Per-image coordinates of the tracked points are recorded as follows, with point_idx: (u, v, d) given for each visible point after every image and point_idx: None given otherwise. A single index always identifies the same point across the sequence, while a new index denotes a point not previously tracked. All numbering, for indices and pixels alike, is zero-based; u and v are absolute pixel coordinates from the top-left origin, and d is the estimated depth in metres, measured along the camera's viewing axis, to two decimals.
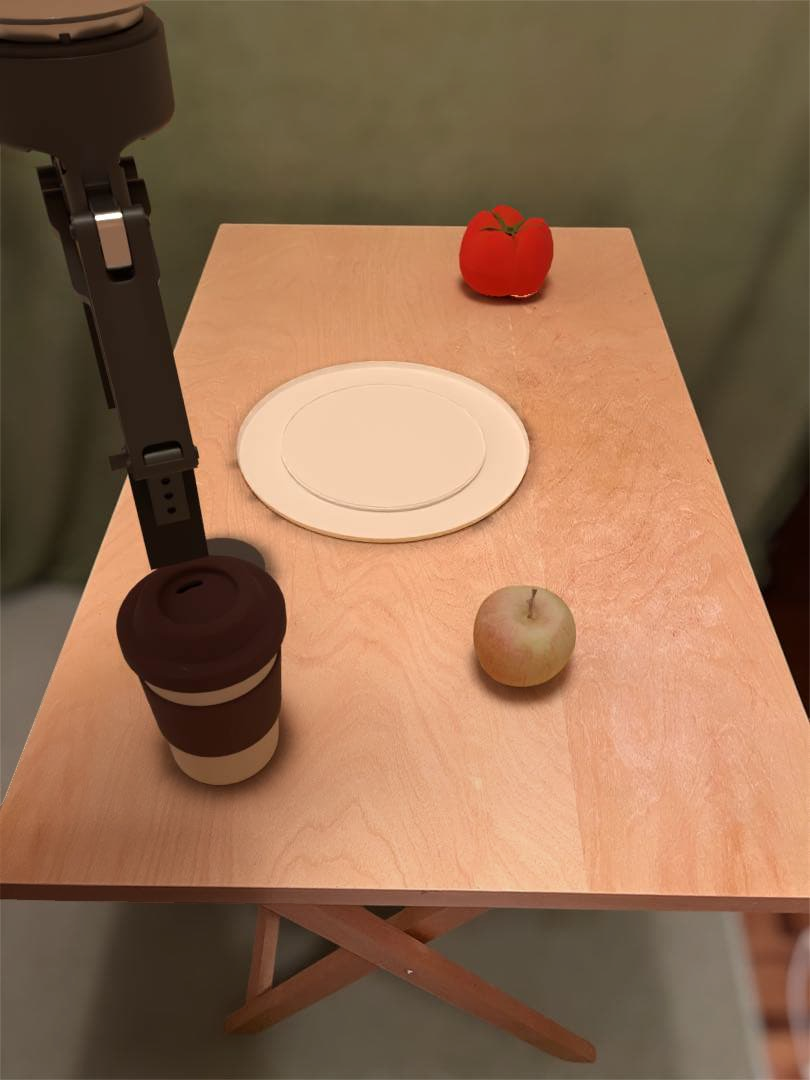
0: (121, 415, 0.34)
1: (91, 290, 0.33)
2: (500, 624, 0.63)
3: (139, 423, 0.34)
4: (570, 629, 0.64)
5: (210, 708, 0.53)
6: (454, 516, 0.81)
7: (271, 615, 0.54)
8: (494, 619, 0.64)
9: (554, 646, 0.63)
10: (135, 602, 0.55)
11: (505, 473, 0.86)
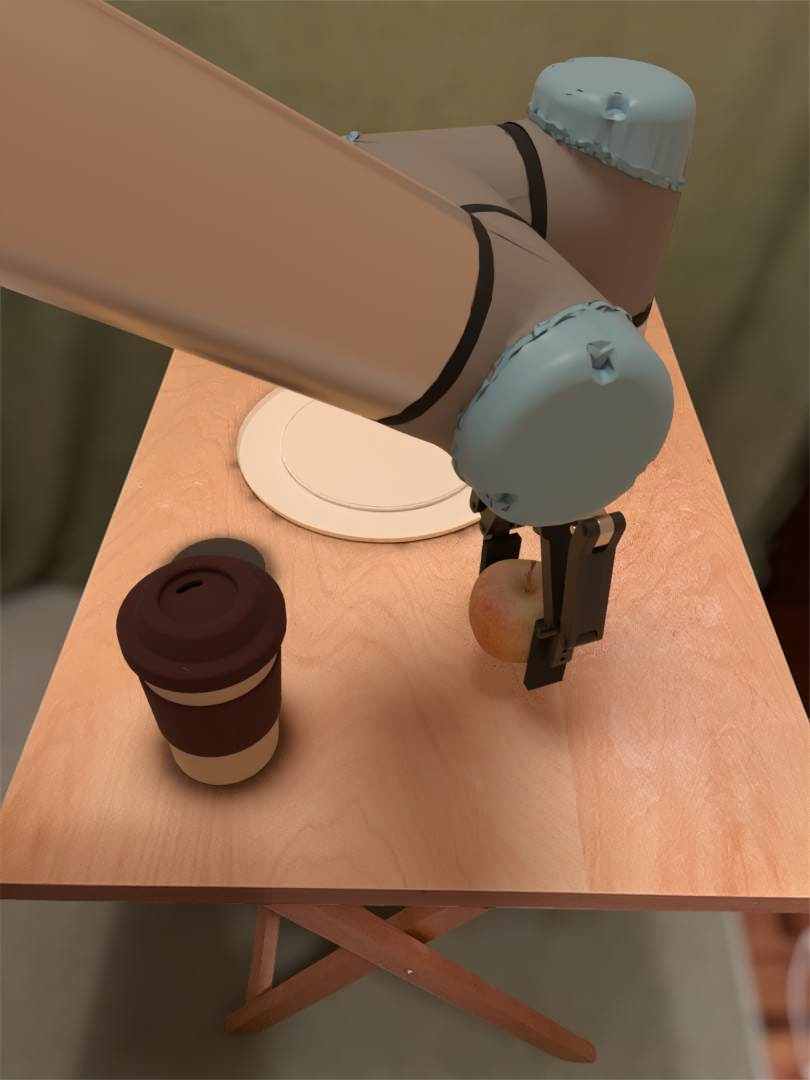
0: (572, 620, 0.55)
1: (580, 559, 0.52)
2: (497, 597, 0.61)
3: (580, 623, 0.55)
4: None
5: (210, 708, 0.53)
6: (454, 516, 0.81)
7: (271, 615, 0.54)
8: (491, 592, 0.62)
9: None
10: (135, 602, 0.55)
11: None
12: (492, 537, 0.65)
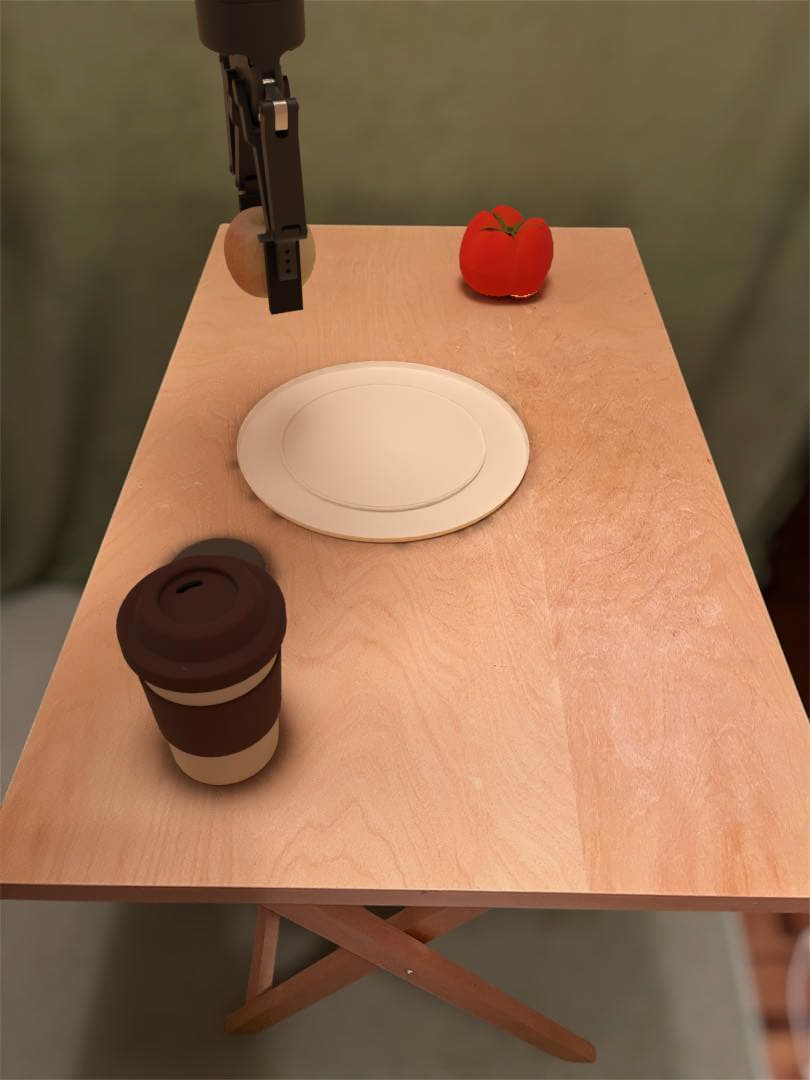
0: (273, 208, 0.66)
1: (266, 142, 0.64)
2: (238, 226, 0.73)
3: (281, 213, 0.67)
4: None
5: (210, 708, 0.53)
6: (454, 516, 0.81)
7: (271, 615, 0.54)
8: (235, 224, 0.73)
9: None
10: (135, 602, 0.55)
11: (505, 472, 0.85)
12: (245, 192, 0.76)
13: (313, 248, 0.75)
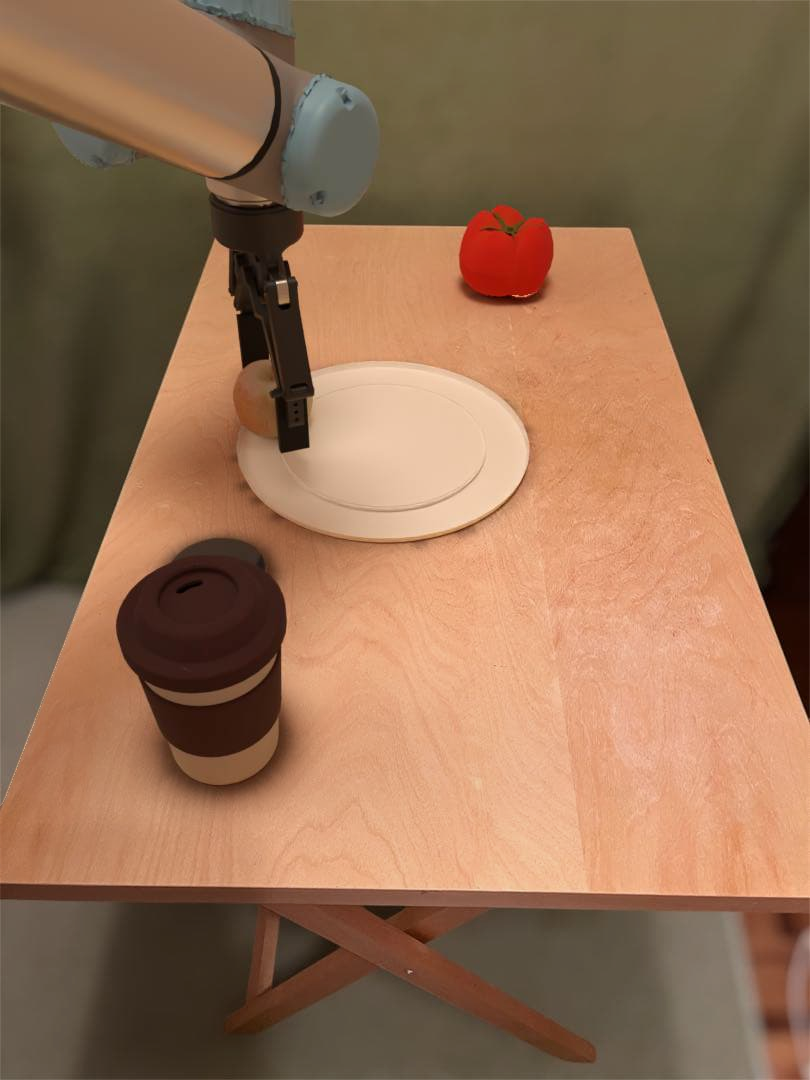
0: (281, 370, 0.75)
1: (271, 314, 0.73)
2: (246, 381, 0.84)
3: (289, 374, 0.75)
4: None
5: (210, 708, 0.53)
6: (454, 516, 0.81)
7: (271, 615, 0.54)
8: (243, 378, 0.85)
9: None
10: (135, 602, 0.55)
11: (505, 472, 0.86)
12: (243, 311, 0.88)
13: None
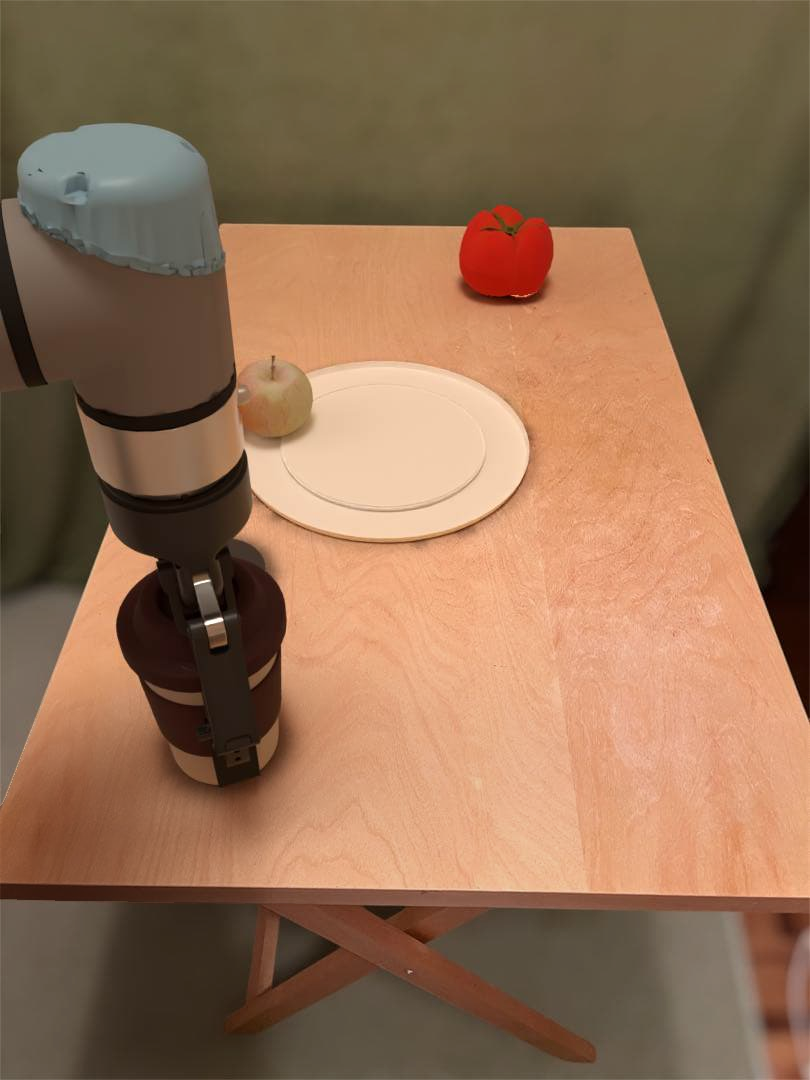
0: (212, 725, 0.50)
1: (199, 662, 0.47)
2: (246, 381, 0.84)
3: (224, 728, 0.50)
4: (301, 387, 0.85)
5: None
6: (454, 516, 0.81)
7: (271, 615, 0.54)
8: (243, 378, 0.85)
9: (286, 396, 0.84)
10: (135, 602, 0.55)
11: (505, 472, 0.86)
12: None
13: (310, 395, 0.87)
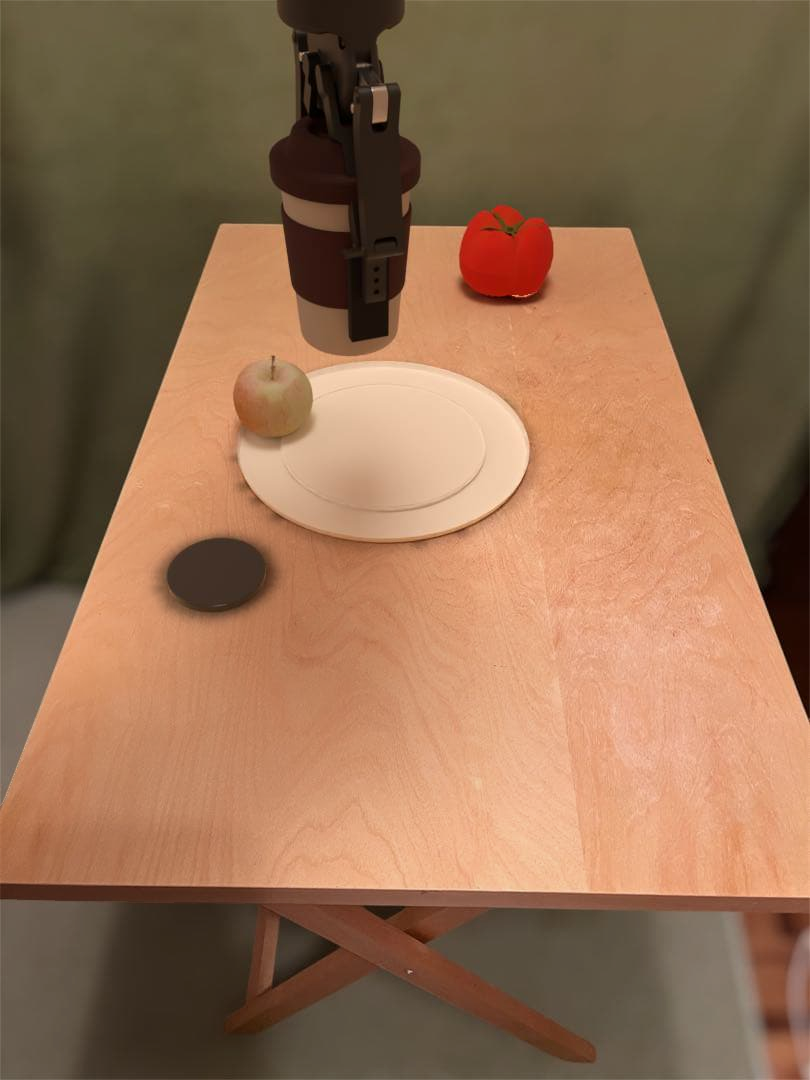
0: (366, 218, 0.55)
1: (360, 136, 0.53)
2: (246, 381, 0.84)
3: (375, 224, 0.55)
4: (301, 387, 0.85)
5: None
6: (454, 516, 0.81)
7: (409, 154, 0.59)
8: (243, 378, 0.85)
9: (286, 396, 0.84)
10: (284, 146, 0.60)
11: (505, 472, 0.86)
12: None
13: (310, 395, 0.87)
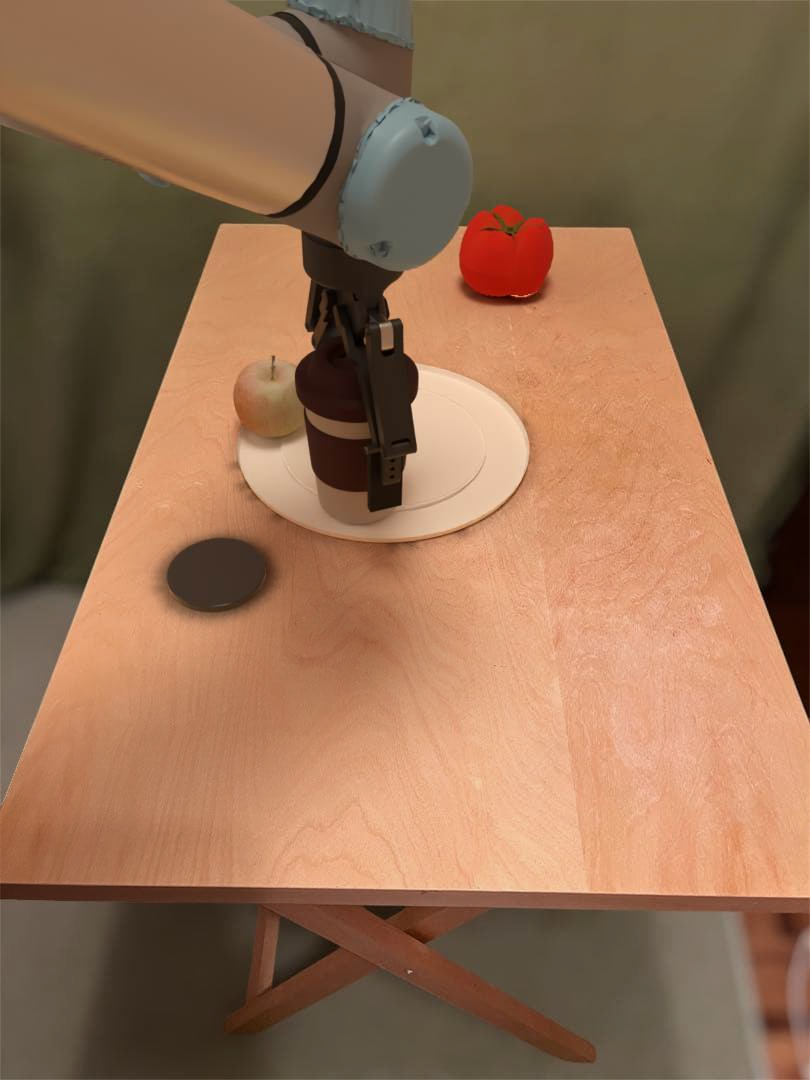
0: (382, 424, 0.65)
1: (373, 361, 0.64)
2: (246, 381, 0.84)
3: (390, 429, 0.66)
4: None
5: (365, 441, 0.72)
6: (454, 516, 0.81)
7: (409, 374, 0.73)
8: (243, 378, 0.85)
9: (286, 396, 0.84)
10: (306, 366, 0.73)
11: (505, 472, 0.86)
12: None
13: None
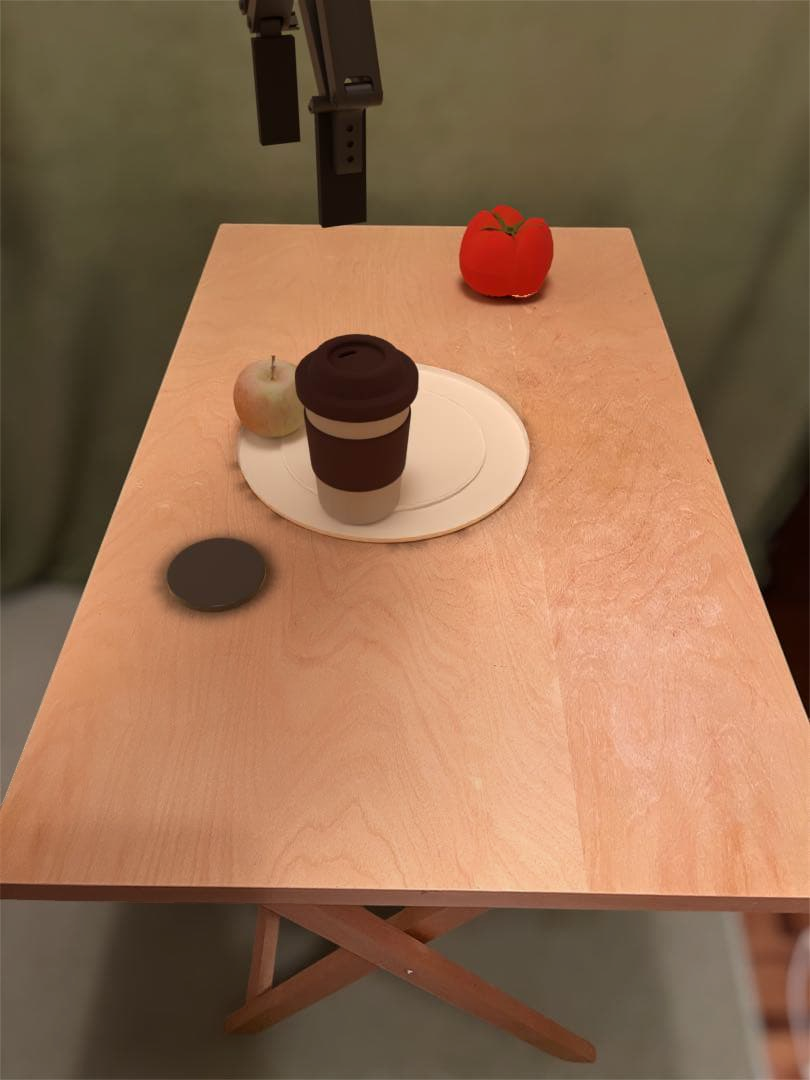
0: (331, 49, 0.45)
1: None
2: (246, 381, 0.84)
3: (343, 58, 0.45)
4: None
5: (365, 441, 0.72)
6: (454, 516, 0.81)
7: (409, 374, 0.73)
8: (243, 378, 0.85)
9: (286, 396, 0.84)
10: (306, 366, 0.73)
11: (505, 472, 0.86)
12: (261, 34, 0.58)
13: None
